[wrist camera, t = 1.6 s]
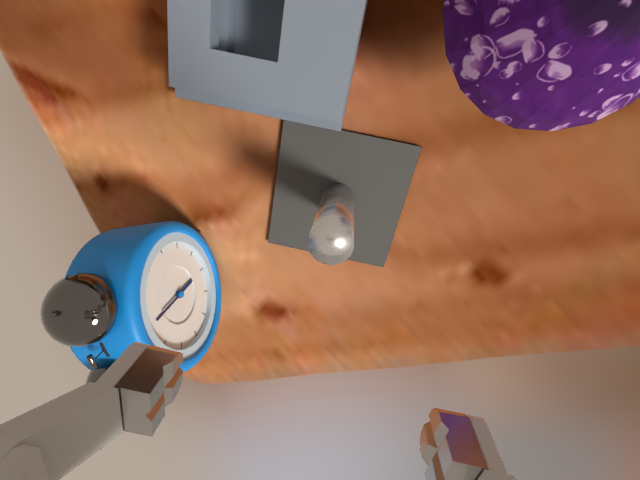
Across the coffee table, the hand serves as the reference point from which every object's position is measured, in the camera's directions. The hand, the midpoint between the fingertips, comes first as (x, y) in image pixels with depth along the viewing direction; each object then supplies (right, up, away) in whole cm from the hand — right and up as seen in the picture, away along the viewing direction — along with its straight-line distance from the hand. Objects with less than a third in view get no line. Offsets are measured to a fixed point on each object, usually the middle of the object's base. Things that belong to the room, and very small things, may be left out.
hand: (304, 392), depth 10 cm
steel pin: (+2, +9, +19) cm, 21 cm away
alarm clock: (-14, +3, +24) cm, 28 cm away
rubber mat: (+2, +9, +19) cm, 22 cm away
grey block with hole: (-3, +21, +14) cm, 26 cm away
